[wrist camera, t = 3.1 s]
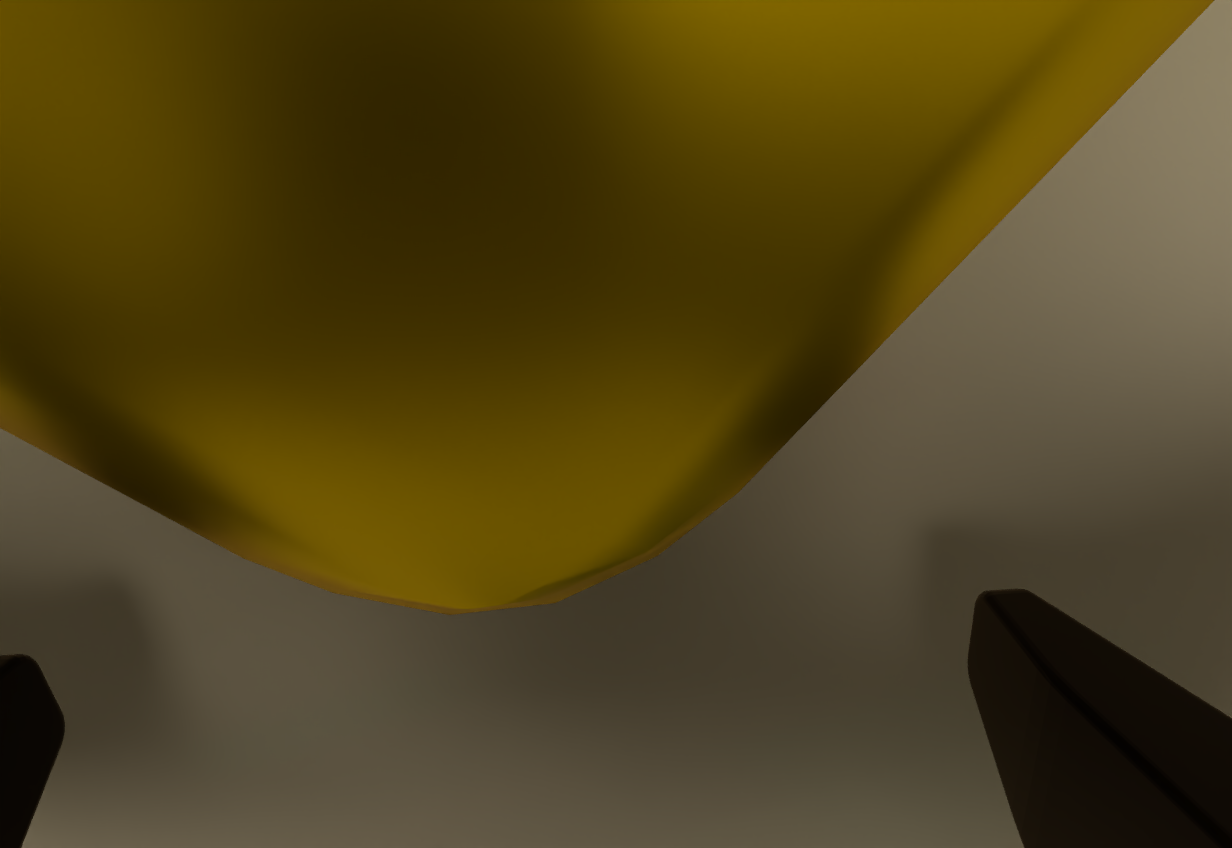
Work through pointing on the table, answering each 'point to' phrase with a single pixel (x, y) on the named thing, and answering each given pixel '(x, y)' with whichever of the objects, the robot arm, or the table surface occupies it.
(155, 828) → the table surface
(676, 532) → the element tile
